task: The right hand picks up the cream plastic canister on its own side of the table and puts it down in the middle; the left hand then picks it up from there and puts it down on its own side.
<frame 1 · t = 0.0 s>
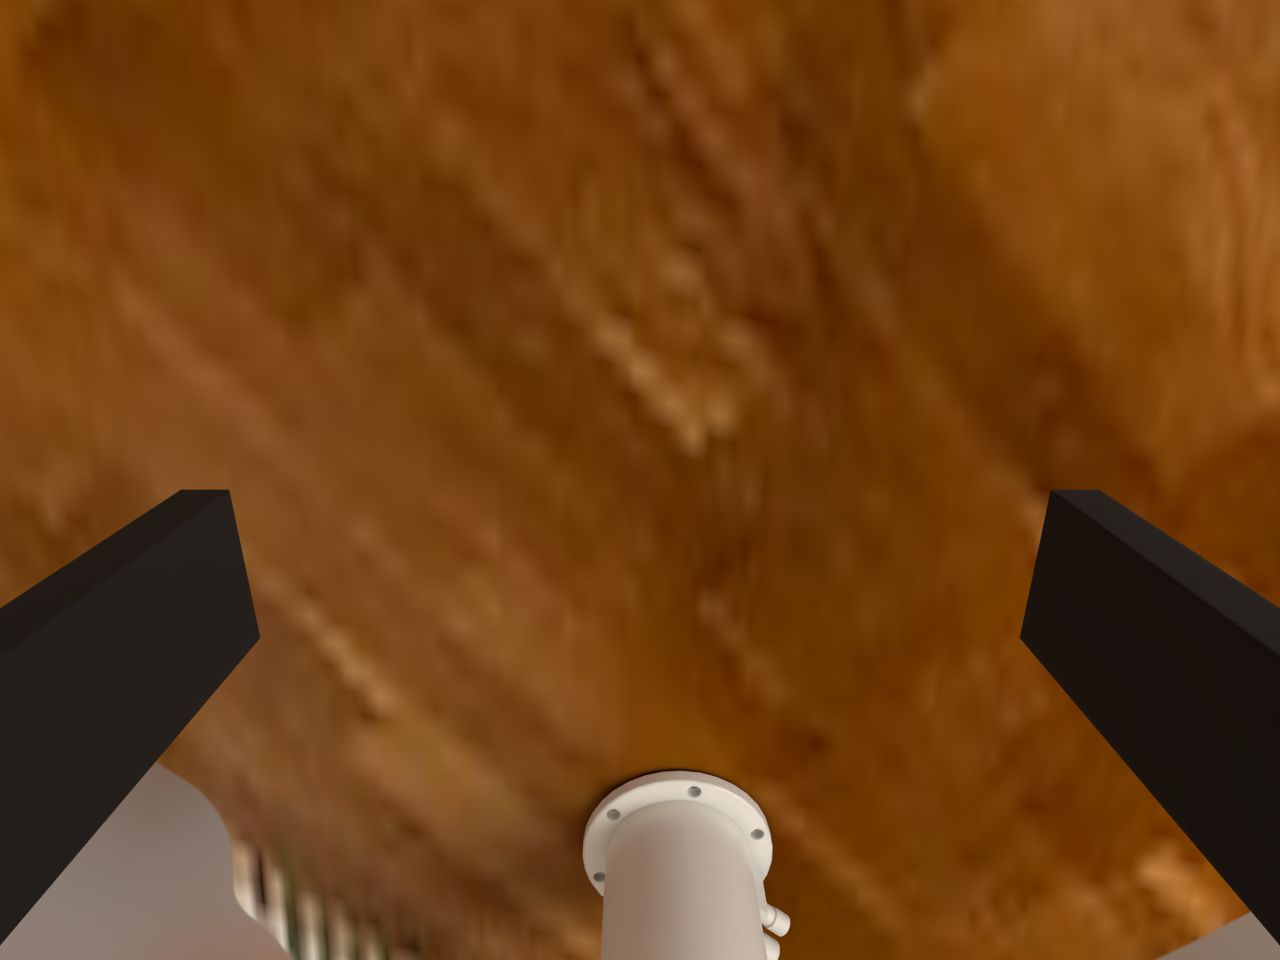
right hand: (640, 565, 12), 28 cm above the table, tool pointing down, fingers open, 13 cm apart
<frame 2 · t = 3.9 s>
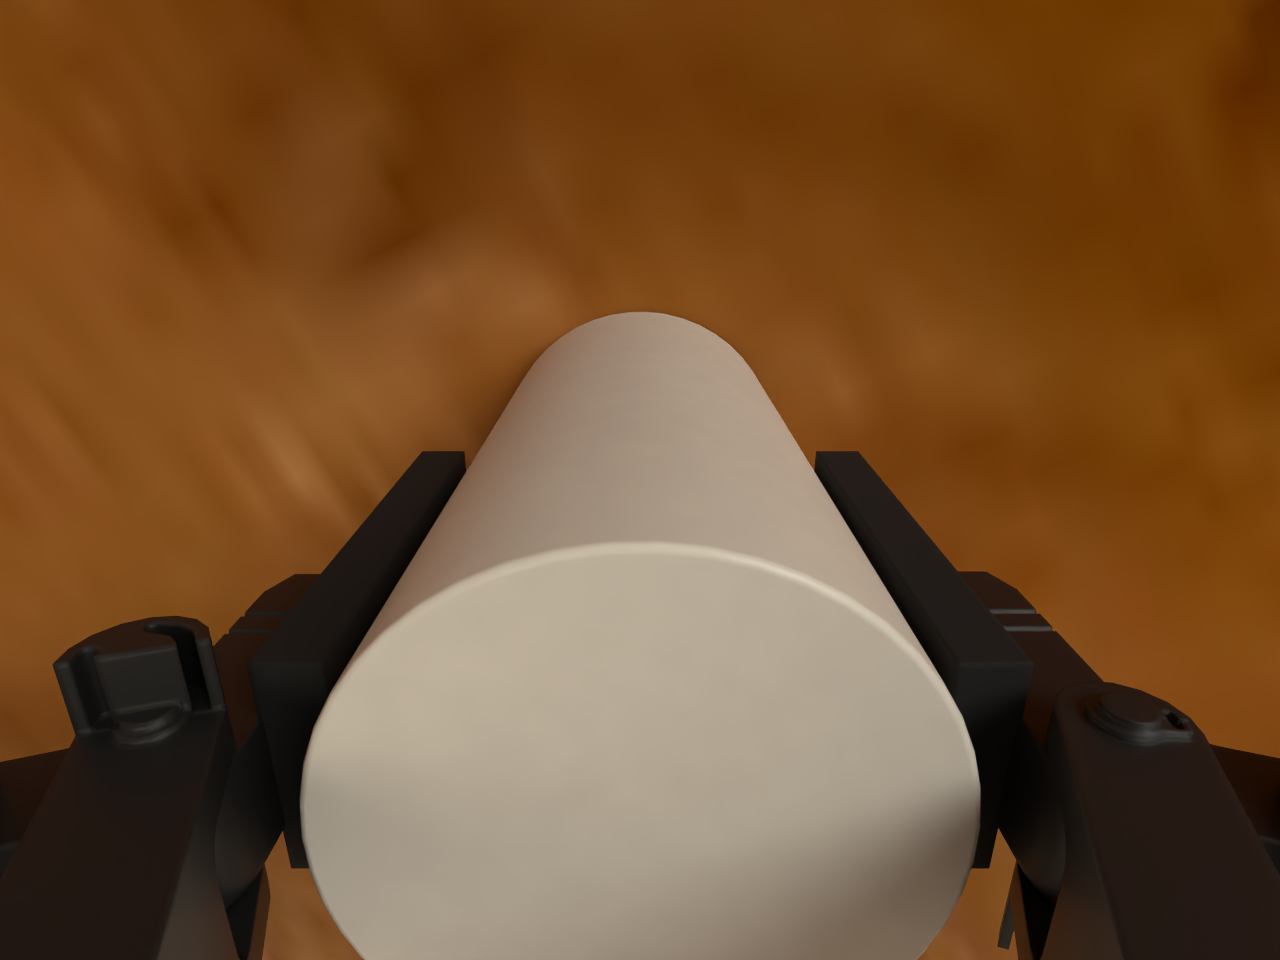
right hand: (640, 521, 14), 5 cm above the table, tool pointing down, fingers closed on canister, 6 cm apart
canister: (640, 443, 18), on the table, touching right hand
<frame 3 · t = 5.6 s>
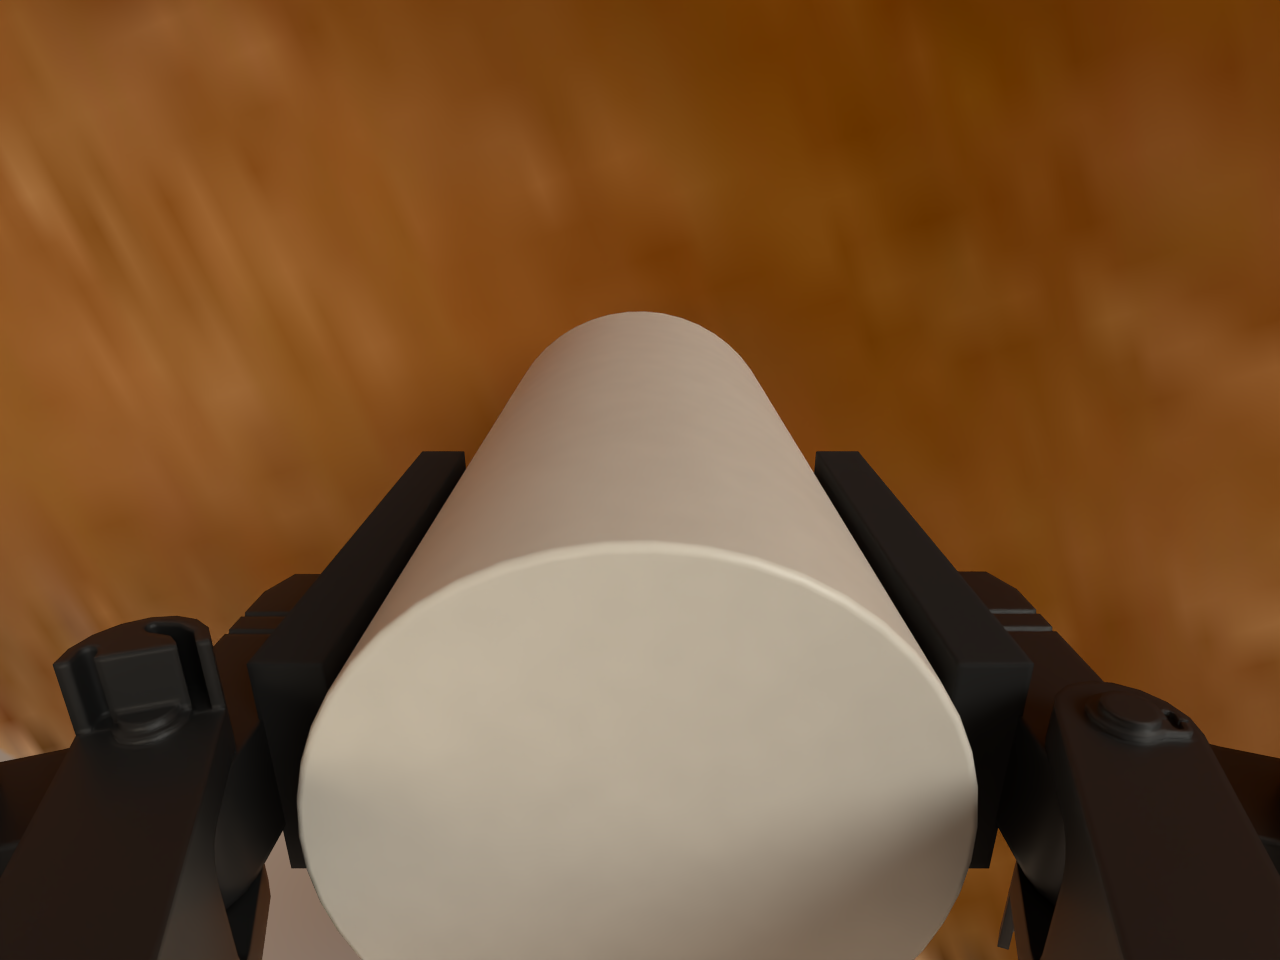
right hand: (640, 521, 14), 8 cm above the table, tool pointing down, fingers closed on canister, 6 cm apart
canister: (639, 443, 18), point 4 cm above the table, touching right hand
when the right hand's fingers open (6 cm above the table, at t = 7.3 s): canister drops 2 cm, on the table.
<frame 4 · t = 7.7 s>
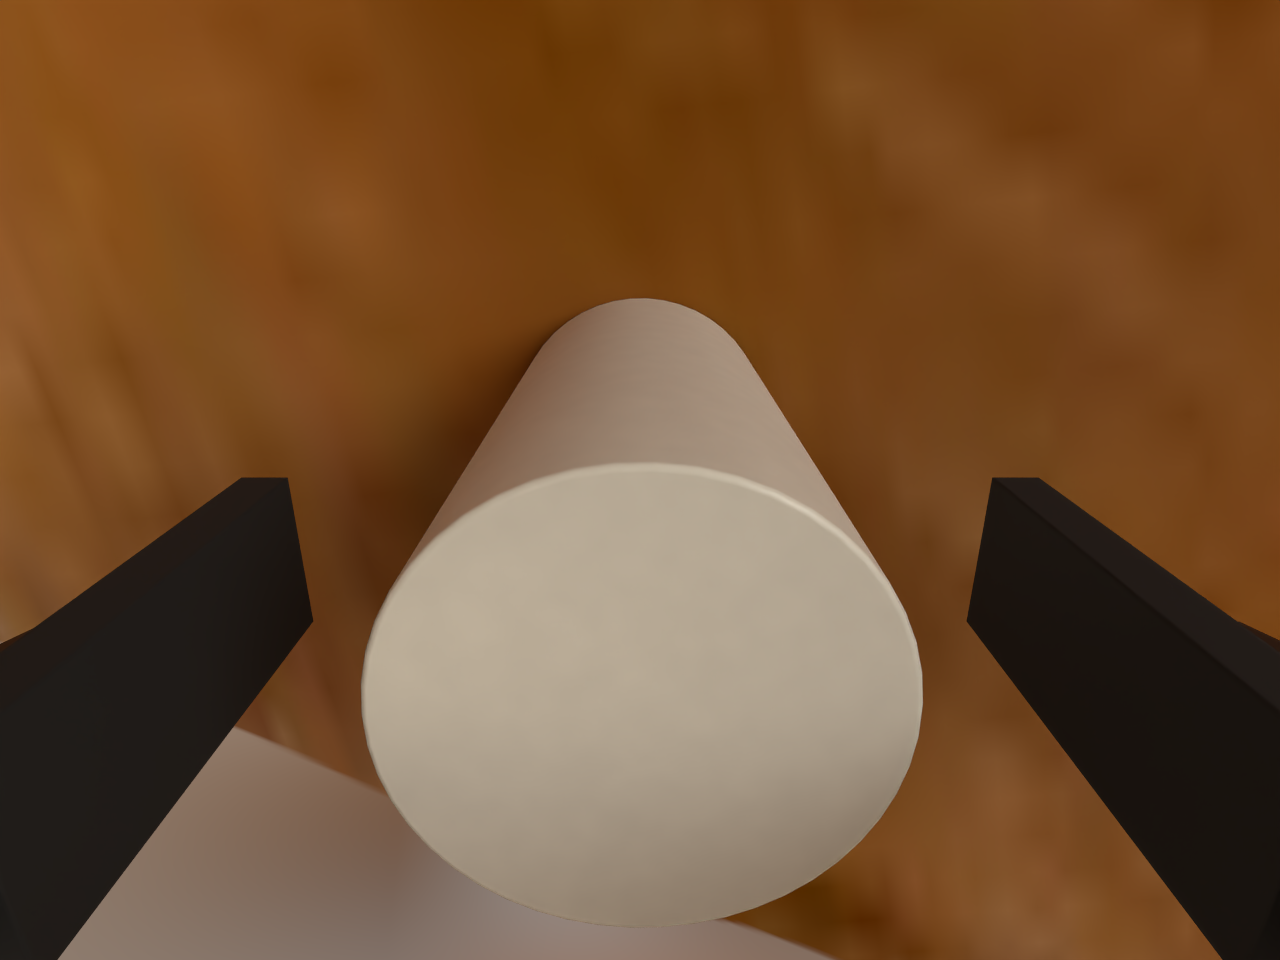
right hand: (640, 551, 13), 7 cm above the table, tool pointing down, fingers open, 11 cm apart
canister: (640, 421, 20), on the table
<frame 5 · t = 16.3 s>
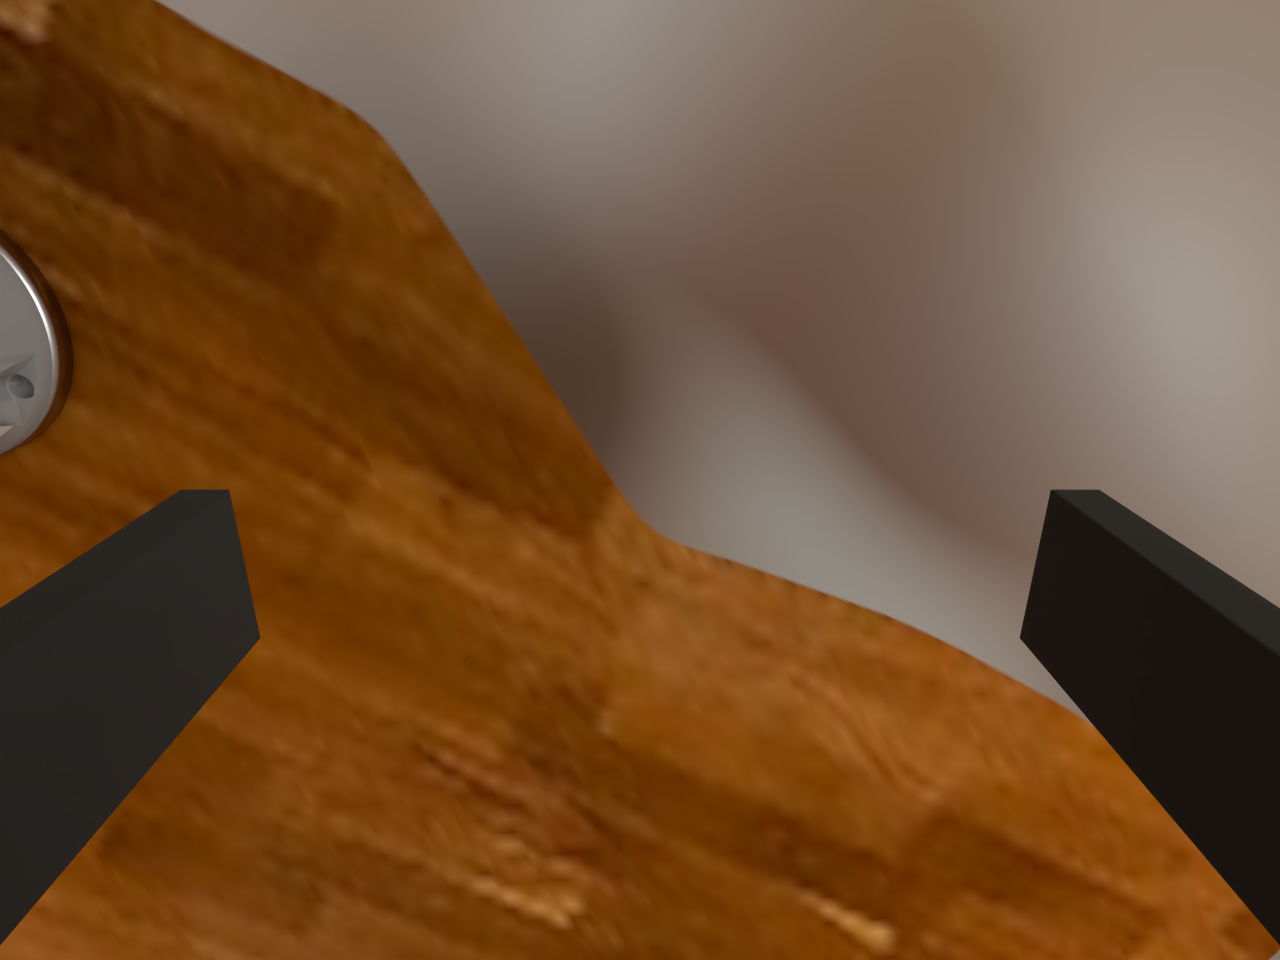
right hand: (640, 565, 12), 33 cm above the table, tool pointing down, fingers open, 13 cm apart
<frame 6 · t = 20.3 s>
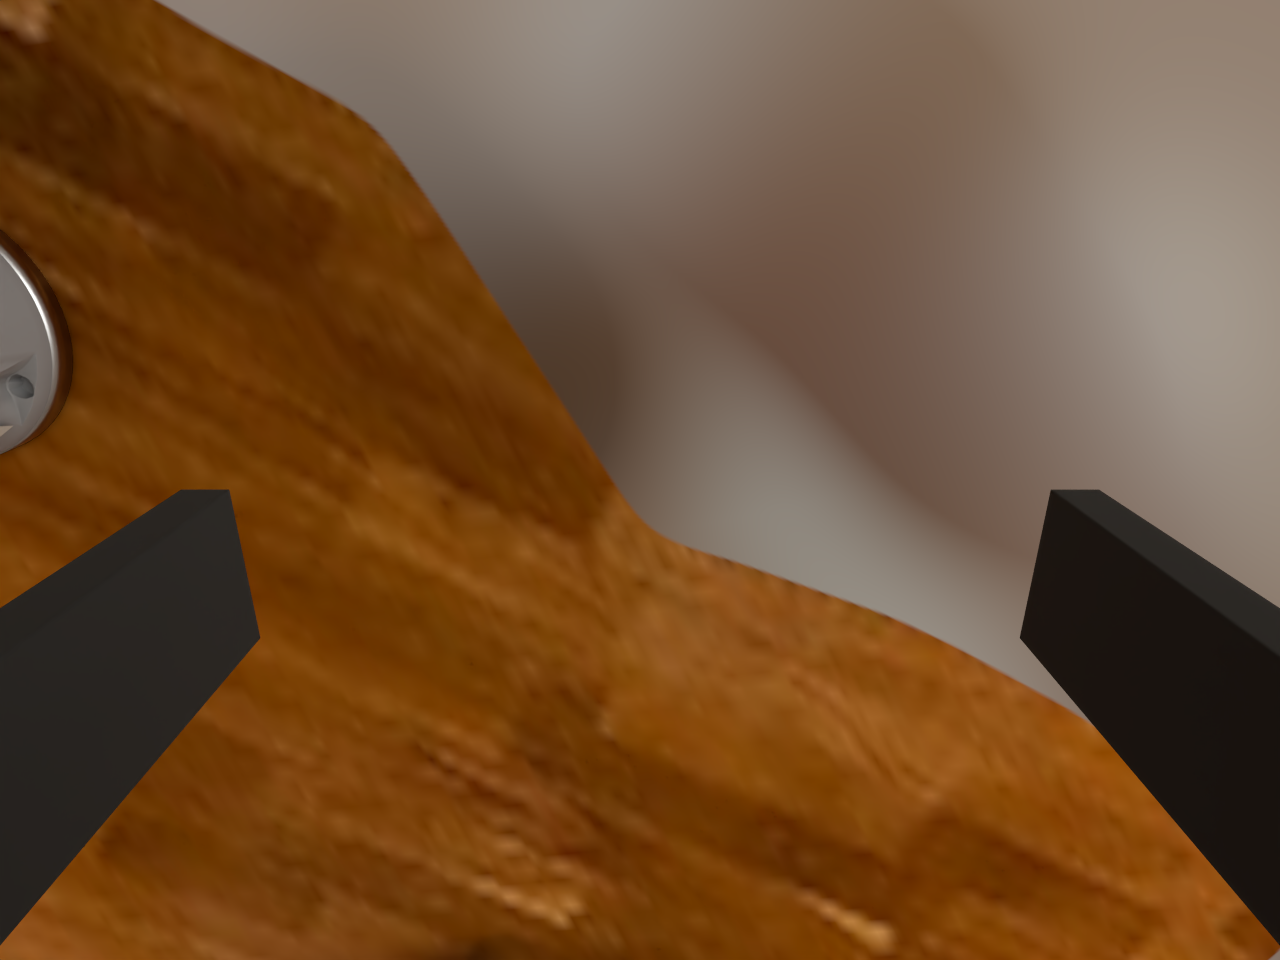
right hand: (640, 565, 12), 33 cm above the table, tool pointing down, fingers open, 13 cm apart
when the left hand's fingers open (8 cm above the table, at t = 24.6 s): canister drops 1 cm, on the table.
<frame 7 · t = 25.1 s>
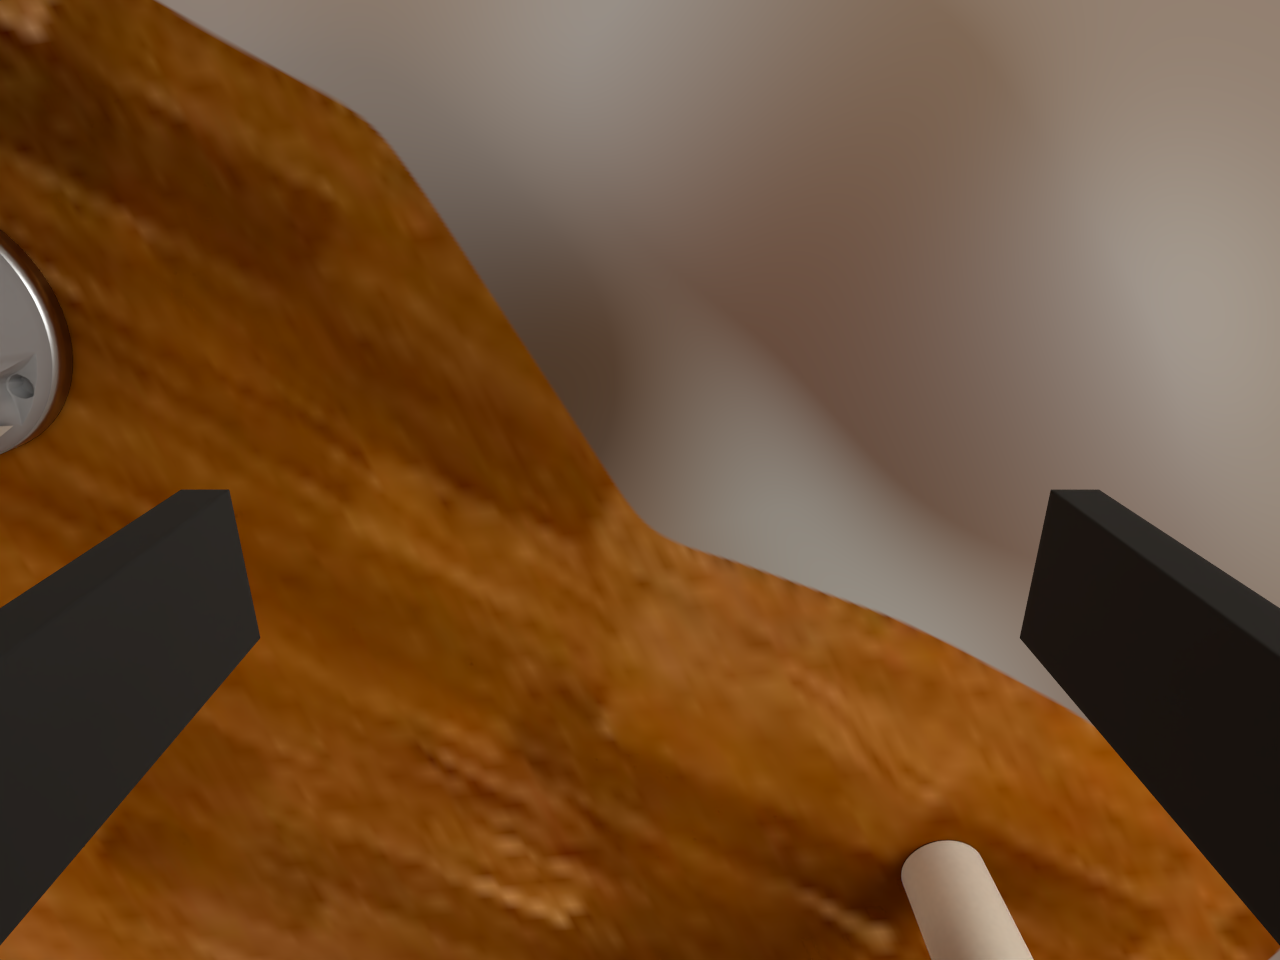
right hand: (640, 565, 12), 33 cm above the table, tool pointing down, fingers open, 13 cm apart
canister: (941, 870, 59), on the table
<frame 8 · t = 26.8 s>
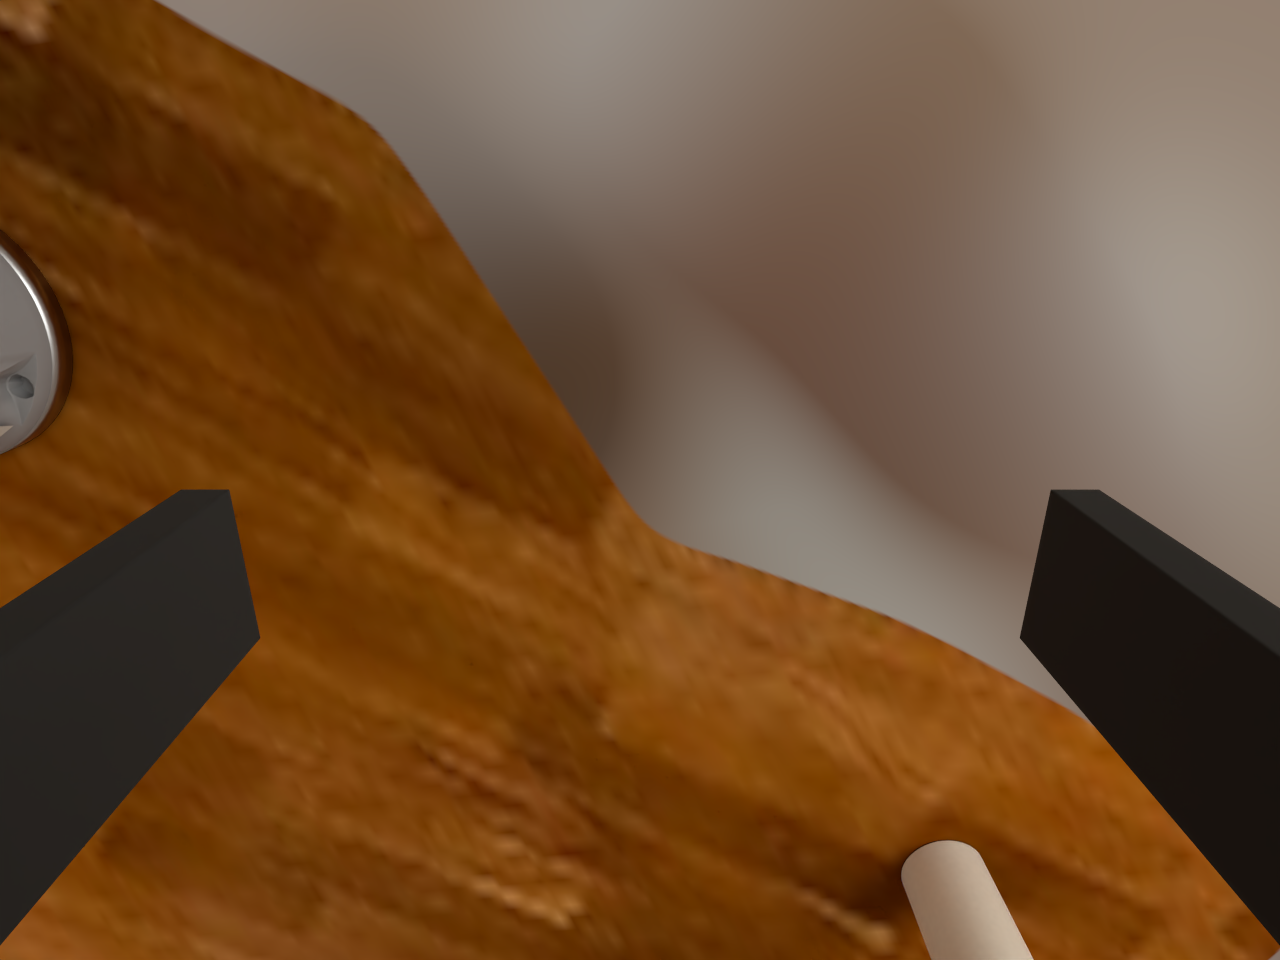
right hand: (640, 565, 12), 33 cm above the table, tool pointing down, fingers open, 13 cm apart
canister: (941, 870, 59), on the table
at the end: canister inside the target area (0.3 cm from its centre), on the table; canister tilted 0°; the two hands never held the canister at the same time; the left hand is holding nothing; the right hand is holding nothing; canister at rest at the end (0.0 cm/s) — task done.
